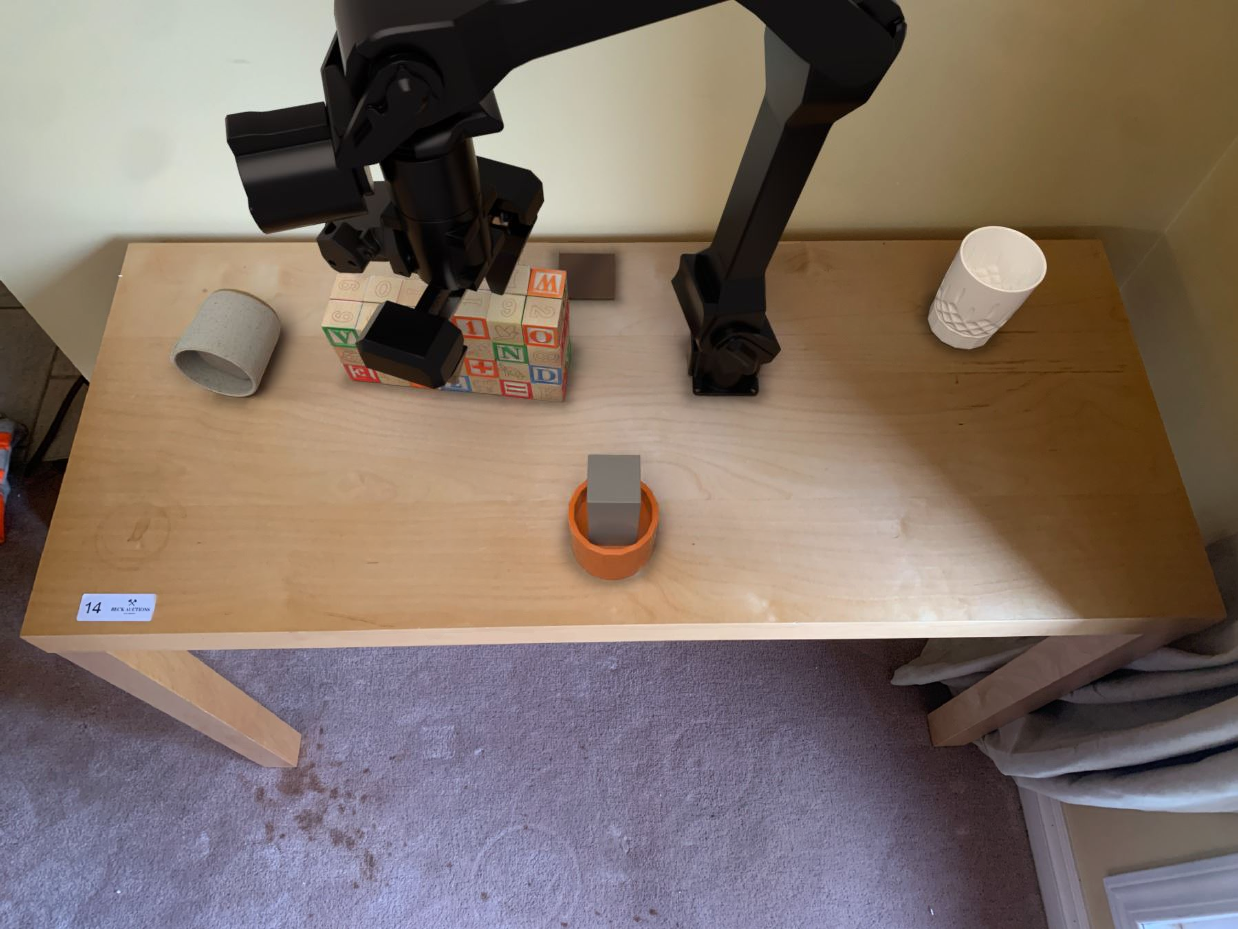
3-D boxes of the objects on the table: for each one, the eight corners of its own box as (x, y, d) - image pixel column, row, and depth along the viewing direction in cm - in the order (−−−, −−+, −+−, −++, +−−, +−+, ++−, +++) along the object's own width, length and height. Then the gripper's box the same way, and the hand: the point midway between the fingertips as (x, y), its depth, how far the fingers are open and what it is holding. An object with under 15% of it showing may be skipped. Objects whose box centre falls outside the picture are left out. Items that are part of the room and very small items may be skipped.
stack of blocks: (349, 382, 77) (306, 304, 66) (365, 331, 80) (326, 247, 69) (565, 402, 76) (558, 326, 65) (572, 350, 79) (567, 268, 68)
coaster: (614, 255, 85) (614, 253, 84) (614, 300, 82) (614, 297, 82) (559, 255, 85) (559, 252, 84) (557, 299, 82) (557, 297, 82)
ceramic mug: (296, 333, 79) (265, 284, 73) (269, 401, 76) (234, 356, 69) (196, 322, 80) (156, 272, 73) (165, 389, 76) (120, 343, 70)
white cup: (1008, 314, 82) (1058, 248, 73) (982, 367, 79) (1030, 305, 70) (938, 281, 84) (978, 213, 75) (909, 332, 81) (947, 267, 72)
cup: (653, 503, 72) (657, 472, 66) (654, 580, 68) (659, 555, 63) (572, 502, 72) (569, 471, 66) (570, 579, 68) (566, 554, 62)
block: (636, 502, 67) (640, 454, 59) (636, 545, 66) (640, 502, 57) (590, 501, 67) (587, 454, 59) (589, 545, 65) (586, 502, 57)
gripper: (388, 64, 54) (434, 226, 68) (242, 262, 46) (328, 400, 60) (538, 103, 52) (553, 261, 66) (413, 315, 44) (460, 443, 58)
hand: (474, 335), depth 63 cm, fingers open, 9 cm apart
